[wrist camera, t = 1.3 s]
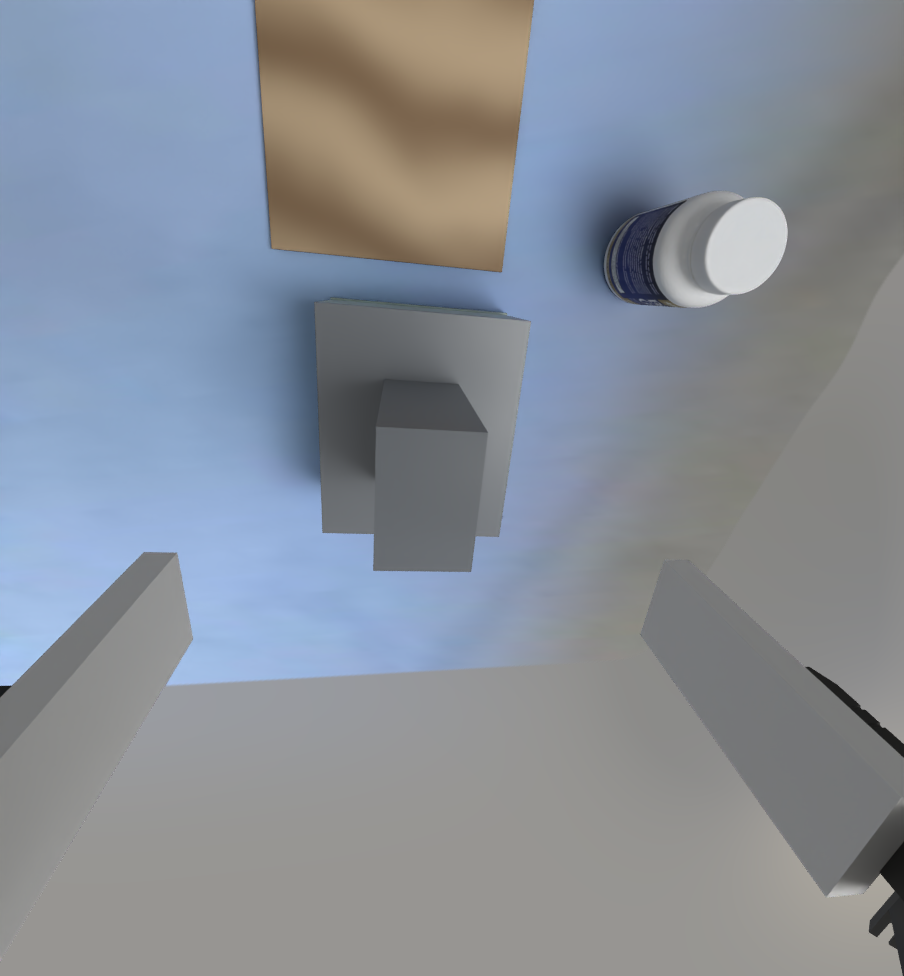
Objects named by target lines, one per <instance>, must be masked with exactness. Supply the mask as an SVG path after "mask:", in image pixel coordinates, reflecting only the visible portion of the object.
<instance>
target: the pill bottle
mask: <svg viewBox="0 0 904 976" xmlns="http://www.w3.org/2000/svg"><path fill="white" fill-rule="evenodd" d="M786 243H787V223H786V219H785V216H784V214H783V212H782V210H781V209H780V208H779V206H778V205H777V204H775V203H774V202H773V201H771V200H769V199H766V198H763V197H751V198H746V199H744V198H743V197H741V196H740V195H738V194H735V193H732V192H728V191H712V192H707V193H704V194H700V195H697V196H694V197H691V198H688V199H685V200H682V201H678V202H675V203H672V204H669V205H666V206H663V207H659V208H656V209H652V210H649V211H646V212H643V213H640V214H637V215H635V216H633V217H632V218H630V219H628V220H627V221H626V222H625V223H623V224H622V225H621V226H620V227H619V229H618V230H617V231H616V232H615V233H614V235H613V237H612V238H611V240H610V242H609V244H608V247H607V250H606V253H605V259H604V272H605V277H606V280H607V283H608V285H609V287H610V289H611V290H612V292H613V293H614V294H615V295H616V296H617V297H618V298H620V299H621V300H623V301H625V302H628V303H632V304H639V305H653V306H668V307H681V308H699V307H706V306H709V305H712V304H714V303H717V302H719V301H721V300H722V299H724V298H726V297H727V296H728V295H737V294H742V293H746V292H749V291H751V290H753V289H755V288H757V287H758V286H760V285H761V284H762V283H763V282H765V281H766V280H767V279H768V278H769V277H770V276H771V274H772V273H773V272H774V271H775V269H776V268H777V266H778V264H779V262H780V260H781V258H782V256H783V254H784V250H785V247H786Z"/></svg>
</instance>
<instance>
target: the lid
mask: <svg viewBox="0 0 904 976" xmlns="http://www.w3.org/2000/svg"><path fill="white" fill-rule="evenodd" d="M314 305H315V333H316V362H317V390H318V418H319V446H320V474H321V503H322V531H323V533H352V534H374V564H373V571H443V572H471V569H472V560H473V552H474V544H475V536H487V537H499V534H500V527H501V520H502V513H503V507H504V500H505V493H506V486H507V480H508V473H509V466H510V459H511V453H512V446H513V439H514V432H515V426H516V419H517V412H518V405H519V399H520V392H521V385H522V378H523V372H524V365H525V358H526V351H527V345H528V338H529V331H530V324H531V321H528V320H519V319H508V318H496V317H485V316H474V315H463V314H451V313H440V312H429V311H417V310H406V309H395V308H384V307H372V306H361V305H350V304H338V303H327V302H314Z"/></svg>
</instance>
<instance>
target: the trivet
mask: <svg viewBox="0 0 904 976" xmlns="http://www.w3.org/2000/svg"><path fill="white" fill-rule="evenodd" d="M533 5H534V0H255V11H256V25H257V40H258V55H259V69H260V84H261V99H262V113H263V128H264V143H265V157H266V172H267V187H268V201H269V216H270V231H271V246H272V249H279V250H289V251H299V252H309V253H318V254H328V255H338V256H348V257H357V258H367V259H377V260H387V261H397V262H406V263H416V264H426V265H436V266H445V267H455V268H465V269H475V270H484V271H494V272H502V266H503V258H504V249H505V241H506V233H507V224H508V216H509V207H510V199H511V190H512V182H513V173H514V165H515V157H516V148H517V140H518V131H519V123H520V114H521V106H522V97H523V89H524V81H525V72H526V64H527V55H528V47H529V38H530V30H531V21H532V13H533Z"/></svg>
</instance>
